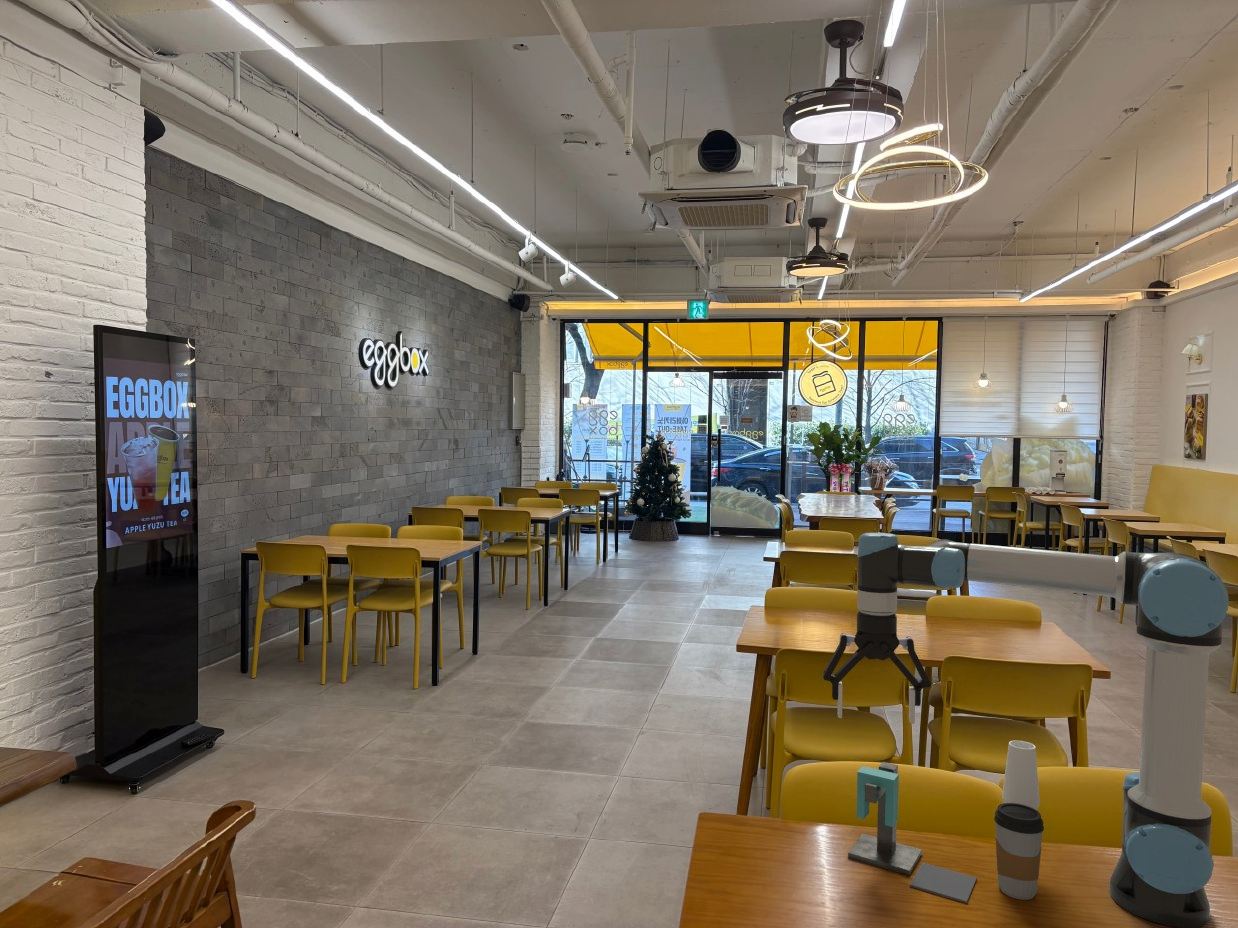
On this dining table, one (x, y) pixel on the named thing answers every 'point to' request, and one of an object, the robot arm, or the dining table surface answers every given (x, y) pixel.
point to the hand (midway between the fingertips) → (875, 718)
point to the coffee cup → (1018, 849)
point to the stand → (884, 837)
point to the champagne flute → (1021, 775)
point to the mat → (943, 882)
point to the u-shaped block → (884, 781)
